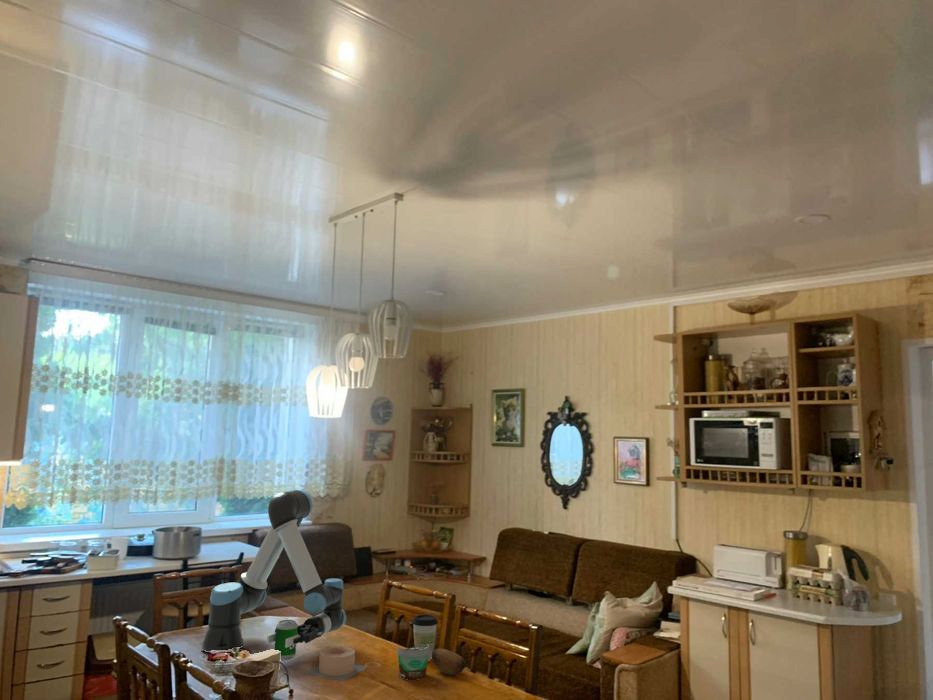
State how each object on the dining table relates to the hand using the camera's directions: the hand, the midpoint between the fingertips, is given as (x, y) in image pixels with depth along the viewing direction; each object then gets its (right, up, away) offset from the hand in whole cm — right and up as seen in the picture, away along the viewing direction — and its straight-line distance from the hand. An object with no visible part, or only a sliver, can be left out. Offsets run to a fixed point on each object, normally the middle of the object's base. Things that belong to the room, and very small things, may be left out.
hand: (277, 641), depth 228 cm
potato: (+60, -12, +2) cm, 61 cm away
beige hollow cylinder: (+21, -10, 0) cm, 23 cm away
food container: (+49, -11, -4) cm, 50 cm away
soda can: (+2, -7, +3) cm, 8 cm away
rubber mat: (+21, -11, 0) cm, 24 cm away
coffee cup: (+50, -15, +17) cm, 55 cm away
